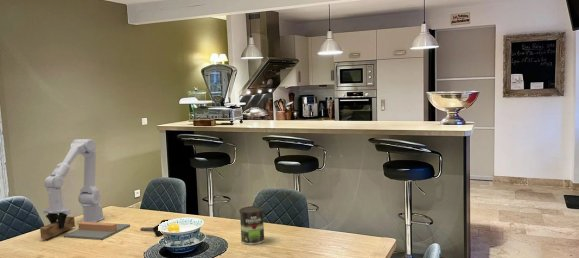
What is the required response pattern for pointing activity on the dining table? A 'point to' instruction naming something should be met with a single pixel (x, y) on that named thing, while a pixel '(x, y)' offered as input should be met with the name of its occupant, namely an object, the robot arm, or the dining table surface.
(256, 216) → the coffee can
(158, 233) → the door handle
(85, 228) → the stand
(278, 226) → the dining table surface
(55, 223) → the walnut beam
